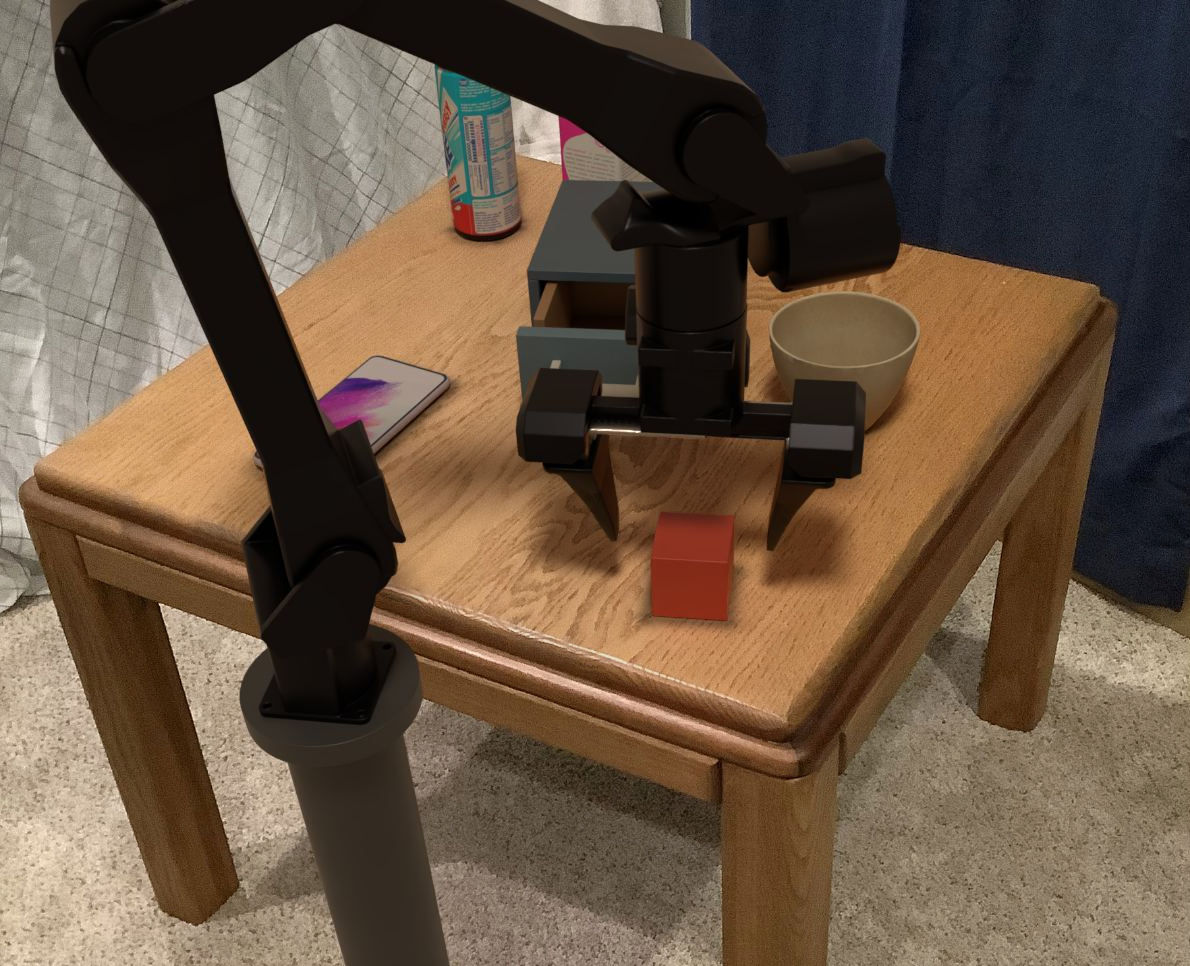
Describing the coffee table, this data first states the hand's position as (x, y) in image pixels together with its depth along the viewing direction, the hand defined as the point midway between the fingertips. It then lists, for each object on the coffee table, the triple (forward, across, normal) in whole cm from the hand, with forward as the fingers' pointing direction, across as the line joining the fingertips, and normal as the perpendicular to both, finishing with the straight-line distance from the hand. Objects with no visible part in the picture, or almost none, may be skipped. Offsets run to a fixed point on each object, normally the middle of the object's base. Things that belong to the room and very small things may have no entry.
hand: (691, 541), depth 84 cm
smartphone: (+4, +26, -16) cm, 31 cm away
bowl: (+4, -8, -20) cm, 22 cm away
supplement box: (+4, +12, -46) cm, 48 cm away
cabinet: (+4, +8, -31) cm, 32 cm away
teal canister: (+4, +23, -47) cm, 53 cm away
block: (+4, 0, 0) cm, 4 cm away
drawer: (+3, +8, -21) cm, 23 cm away
